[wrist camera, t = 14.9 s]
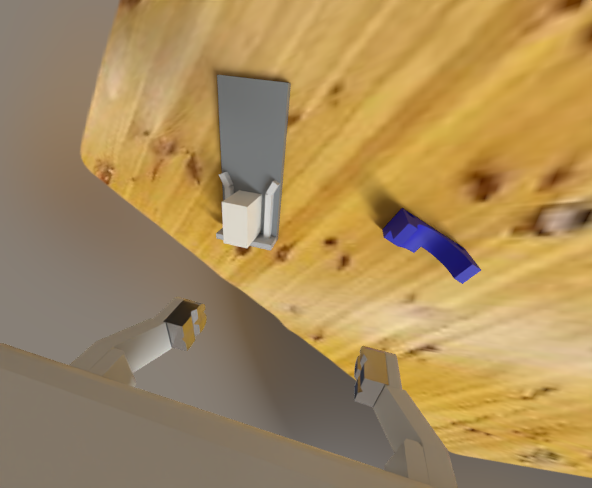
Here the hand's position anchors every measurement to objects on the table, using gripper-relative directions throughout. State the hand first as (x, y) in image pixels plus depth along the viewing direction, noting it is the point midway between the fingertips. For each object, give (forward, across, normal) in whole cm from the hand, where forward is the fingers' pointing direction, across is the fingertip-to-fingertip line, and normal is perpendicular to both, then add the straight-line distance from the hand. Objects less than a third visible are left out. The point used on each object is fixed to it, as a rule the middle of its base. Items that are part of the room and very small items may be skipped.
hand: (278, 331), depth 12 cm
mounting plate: (+29, +13, 0) cm, 32 cm away
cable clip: (+30, -16, +6) cm, 34 cm away
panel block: (+28, +13, +7) cm, 32 cm away
